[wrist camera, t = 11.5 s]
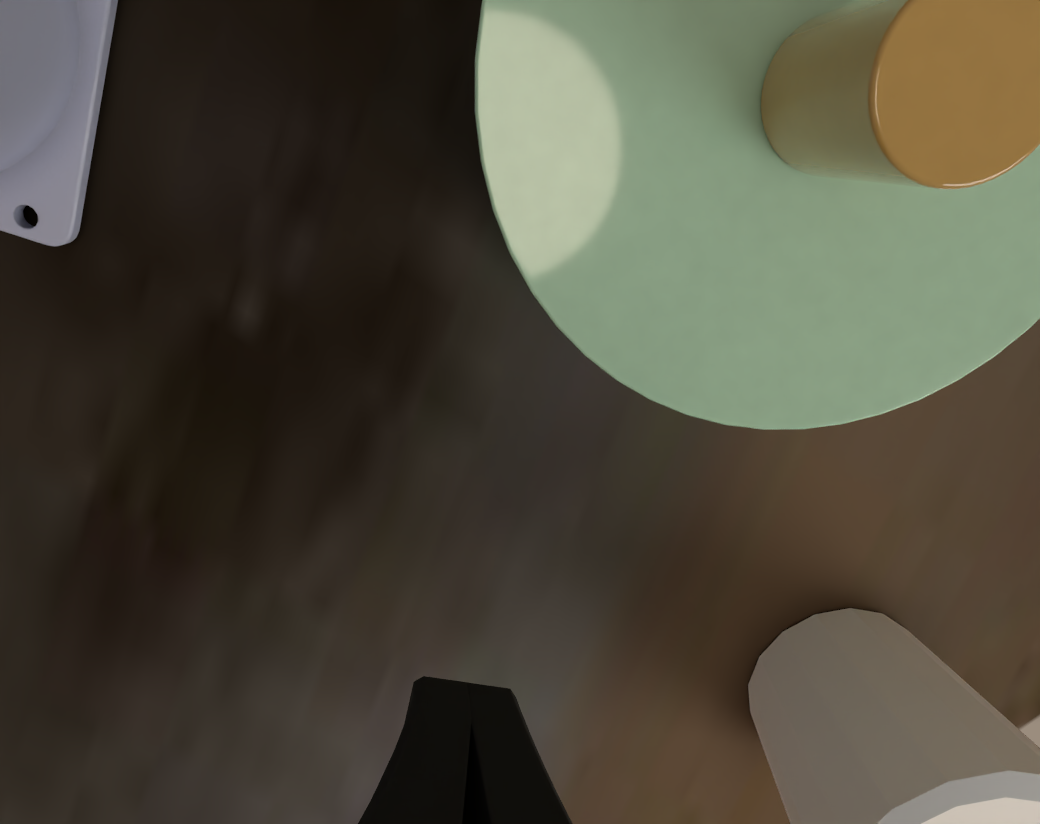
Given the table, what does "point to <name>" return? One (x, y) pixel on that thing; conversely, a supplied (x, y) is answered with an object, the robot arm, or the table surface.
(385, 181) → the table surface
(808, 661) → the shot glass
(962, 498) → the table surface
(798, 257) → the lid
